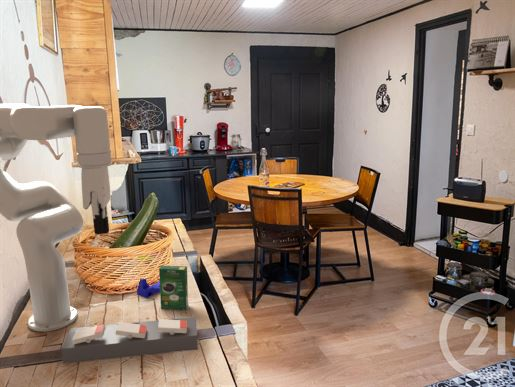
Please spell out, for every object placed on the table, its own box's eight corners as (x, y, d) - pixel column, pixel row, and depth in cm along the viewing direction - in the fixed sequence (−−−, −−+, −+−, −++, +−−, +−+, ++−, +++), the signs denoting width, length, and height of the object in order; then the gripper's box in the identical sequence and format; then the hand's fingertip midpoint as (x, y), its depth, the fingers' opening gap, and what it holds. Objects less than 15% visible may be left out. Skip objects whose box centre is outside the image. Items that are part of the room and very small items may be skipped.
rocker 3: (158, 325, 110) (159, 318, 110) (185, 326, 111) (186, 320, 111) (157, 333, 106) (158, 326, 106) (185, 335, 107) (186, 328, 107)
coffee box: (189, 305, 130) (187, 265, 127) (187, 310, 127) (185, 269, 124) (163, 304, 130) (160, 264, 127) (160, 309, 128) (157, 268, 124)
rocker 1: (77, 337, 107) (75, 330, 107) (106, 330, 108) (104, 323, 107) (74, 346, 103) (71, 339, 103) (103, 339, 104) (101, 332, 104)
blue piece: (146, 299, 135) (145, 281, 133) (137, 295, 137) (135, 277, 136) (175, 285, 144) (174, 268, 143) (166, 281, 147) (165, 265, 145)
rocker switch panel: (72, 342, 112) (70, 327, 111) (196, 330, 117) (196, 315, 116) (63, 363, 103) (60, 347, 102) (197, 349, 108) (197, 334, 107)
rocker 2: (117, 328, 108) (118, 321, 108) (145, 331, 110) (147, 324, 109) (114, 336, 104) (116, 329, 104) (144, 340, 106) (145, 333, 106)
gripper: (84, 155, 109) (92, 224, 113) (70, 165, 95) (79, 244, 99) (115, 154, 110) (121, 222, 115) (105, 164, 96) (113, 242, 100)
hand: (102, 232), depth 107 cm, fingers closed
